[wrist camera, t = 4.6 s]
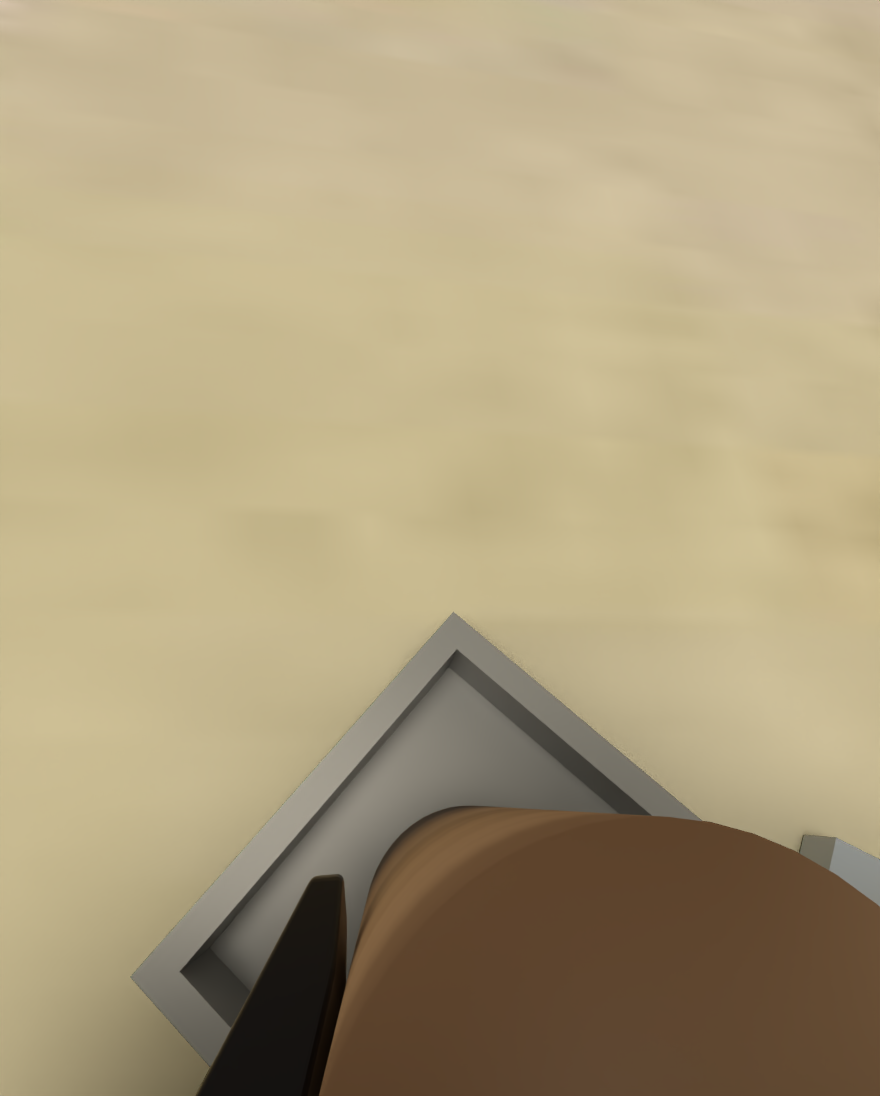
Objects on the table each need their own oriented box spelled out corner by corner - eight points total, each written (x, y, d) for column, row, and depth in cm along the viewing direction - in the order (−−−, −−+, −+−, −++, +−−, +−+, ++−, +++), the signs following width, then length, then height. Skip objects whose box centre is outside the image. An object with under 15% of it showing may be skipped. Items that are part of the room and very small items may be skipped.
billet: (615, 904, 14) (1217, 1183, 4) (486, 1106, 12) (910, 2464, 2) (456, 762, 15) (601, 678, 5) (319, 935, 13) (88, 1369, 3)
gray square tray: (736, 887, 15) (801, 903, 12) (500, 1303, 12) (527, 1425, 9) (444, 638, 16) (453, 612, 14) (174, 946, 14) (129, 977, 11)
